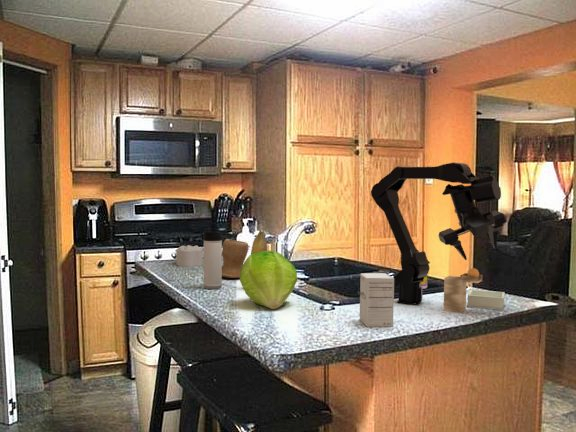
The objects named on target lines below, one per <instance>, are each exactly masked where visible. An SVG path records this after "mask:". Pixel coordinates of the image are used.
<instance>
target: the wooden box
mask: <svg viewBox="0 0 576 432" xmlns="http://www.w3.org/2000/svg"><path fill="white" fill-rule="evenodd" d="M443 279H444V280H443V281H444V282H443V311H444V312H452V313H458V314H459V313H461V314H462V313H463V312H464V311H466V310H467V284H468V283H471V284H472V283H473V284H479V283H481V282H483V274H479V277H474V276H468V275H467V272H465V273H463V274H461V275H460V276H454V275H447V276H445V277H444V278H443Z"/></svg>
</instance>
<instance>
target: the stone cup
mask: <svg viewBox="0 0 576 432" xmlns="http://www.w3.org/2000/svg"><path fill="white" fill-rule="evenodd" d="M248 253H249V243H248V242H246V241H240V240H235V239H229V238H226V239H225V240H224V241H222V262H223V263H222V278H227V279H240V272H241V269H242V266H243V264H244V262H245V261H246V259H247V257H248V256H247V255H248Z"/></svg>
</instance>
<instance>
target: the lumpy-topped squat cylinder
mask: <svg viewBox="0 0 576 432" xmlns="http://www.w3.org/2000/svg"><path fill="white" fill-rule="evenodd" d="M175 254H176V255H175V257H176V258H175V259H176V261H175V263H176V266H178V267H182V268H191V267H201V266H203V249H202V248H200V247H199V246H198V245H197V244H196V245H194V246H193V245H191V244H190V245H189V244H188V245H181V246H179V247H178V248H176V253H175Z"/></svg>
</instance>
